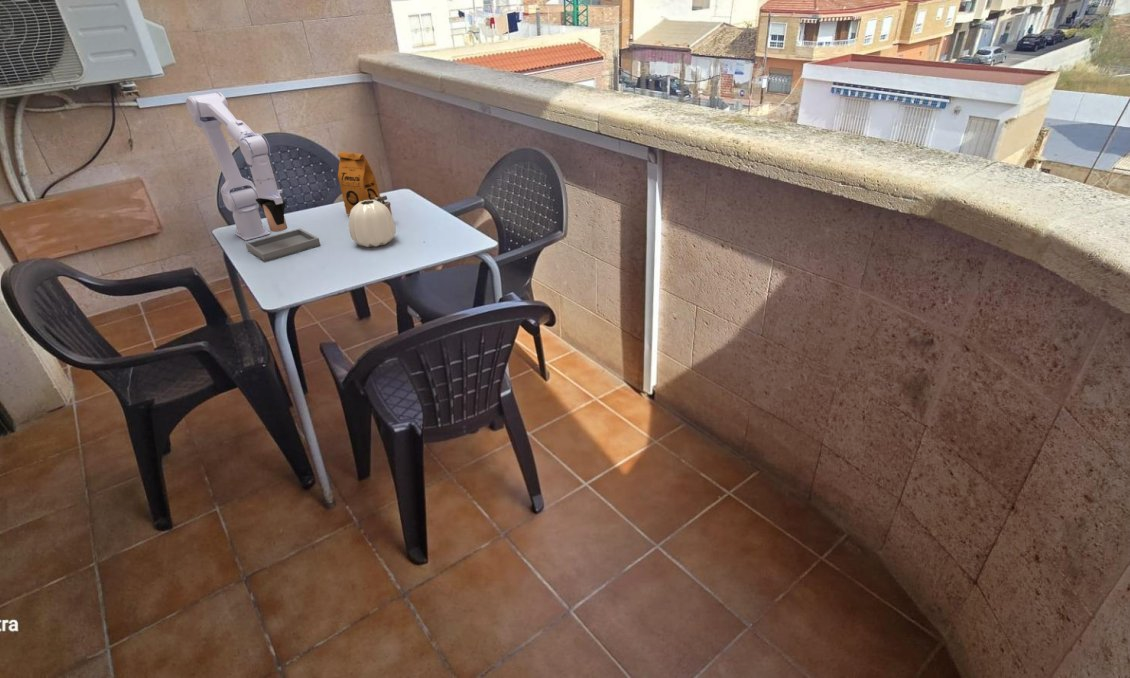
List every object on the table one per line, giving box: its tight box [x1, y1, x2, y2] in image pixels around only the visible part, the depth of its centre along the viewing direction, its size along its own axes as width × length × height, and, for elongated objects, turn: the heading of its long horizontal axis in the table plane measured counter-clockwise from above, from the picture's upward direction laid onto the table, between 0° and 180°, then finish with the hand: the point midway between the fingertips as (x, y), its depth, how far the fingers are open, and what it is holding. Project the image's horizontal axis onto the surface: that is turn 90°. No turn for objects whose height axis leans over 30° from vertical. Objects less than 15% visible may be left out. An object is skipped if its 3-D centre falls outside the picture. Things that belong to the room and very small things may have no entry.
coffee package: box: [337, 151, 381, 215], centre depth 204 cm, size 10×12×22 cm
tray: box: [245, 228, 321, 263], centre depth 182 cm, size 14×18×2 cm
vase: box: [348, 200, 397, 248], centre depth 182 cm, size 14×14×13 cm
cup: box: [263, 202, 288, 233], centre depth 178 cm, size 5×5×8 cm
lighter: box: [374, 195, 393, 216], centre depth 196 cm, size 8×3×10 cm, turn 143°
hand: (276, 222), depth 178 cm, fingers closed on cup, 5 cm apart
